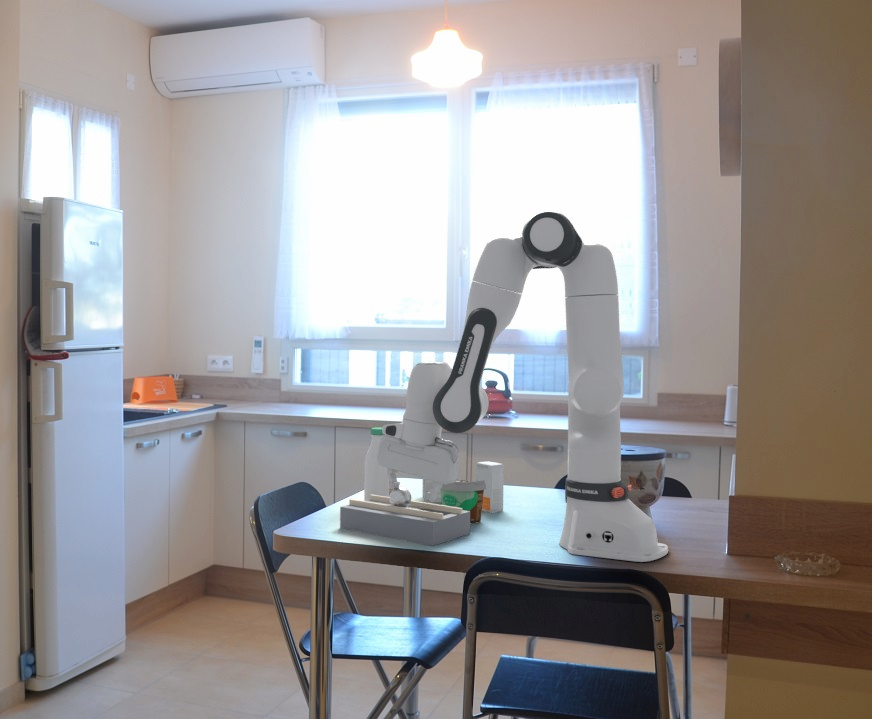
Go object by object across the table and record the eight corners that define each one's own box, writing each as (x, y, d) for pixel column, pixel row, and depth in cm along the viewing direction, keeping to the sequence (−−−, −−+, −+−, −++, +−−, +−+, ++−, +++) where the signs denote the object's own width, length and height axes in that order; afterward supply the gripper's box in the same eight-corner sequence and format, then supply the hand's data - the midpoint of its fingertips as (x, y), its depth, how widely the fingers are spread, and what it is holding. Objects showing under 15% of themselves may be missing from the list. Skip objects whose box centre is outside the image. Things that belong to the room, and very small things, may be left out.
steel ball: (397, 492, 199) (410, 508, 197) (381, 500, 195) (395, 517, 193) (405, 479, 195) (419, 496, 194) (389, 487, 192) (403, 504, 190)
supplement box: (449, 498, 234) (449, 451, 234) (451, 503, 227) (451, 455, 226) (422, 498, 234) (422, 451, 233) (423, 503, 226) (423, 455, 226)
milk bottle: (383, 509, 218) (383, 430, 218) (358, 506, 222) (358, 428, 222) (400, 504, 225) (400, 427, 224) (375, 501, 229) (376, 425, 228)
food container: (427, 521, 205) (428, 479, 204) (439, 516, 210) (440, 475, 210) (475, 527, 199) (475, 484, 199) (486, 522, 204) (486, 480, 204)
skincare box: (475, 509, 219) (475, 462, 219) (488, 507, 222) (488, 460, 222) (491, 513, 214) (491, 465, 214) (504, 511, 217) (504, 463, 217)
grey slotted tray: (470, 533, 193) (470, 505, 193) (432, 546, 182) (433, 516, 181) (379, 518, 208) (379, 492, 208) (340, 528, 197) (340, 501, 197)
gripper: (467, 442, 187) (458, 505, 188) (394, 424, 199) (386, 483, 200) (451, 443, 182) (441, 508, 183) (377, 424, 194) (368, 485, 195)
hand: (411, 495), depth 191 cm, fingers open, 8 cm apart
